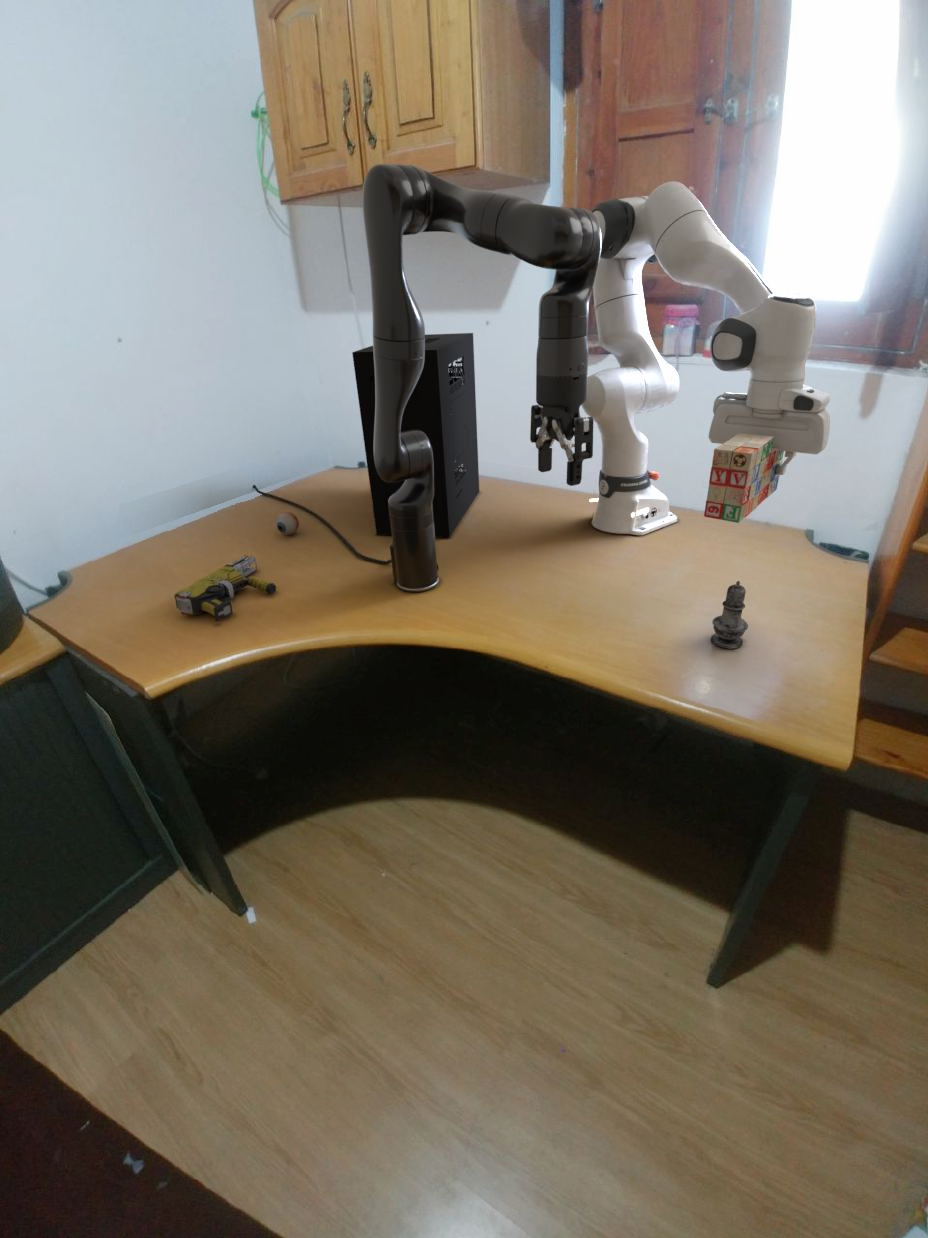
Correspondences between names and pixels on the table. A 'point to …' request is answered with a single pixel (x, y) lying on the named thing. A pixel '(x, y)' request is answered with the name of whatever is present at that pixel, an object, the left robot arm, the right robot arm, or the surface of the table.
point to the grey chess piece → (731, 619)
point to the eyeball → (287, 523)
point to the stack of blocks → (741, 476)
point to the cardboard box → (431, 428)
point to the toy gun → (220, 589)
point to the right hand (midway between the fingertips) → (759, 471)
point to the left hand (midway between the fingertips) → (558, 477)
